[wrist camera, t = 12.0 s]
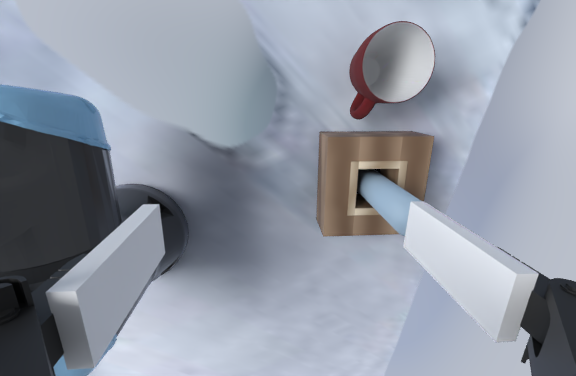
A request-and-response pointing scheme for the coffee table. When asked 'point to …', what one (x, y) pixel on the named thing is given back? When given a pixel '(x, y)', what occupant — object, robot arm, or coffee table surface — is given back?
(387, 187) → the peg
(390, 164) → the socket block
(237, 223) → the coffee table surface
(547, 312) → the robot arm
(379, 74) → the mug
